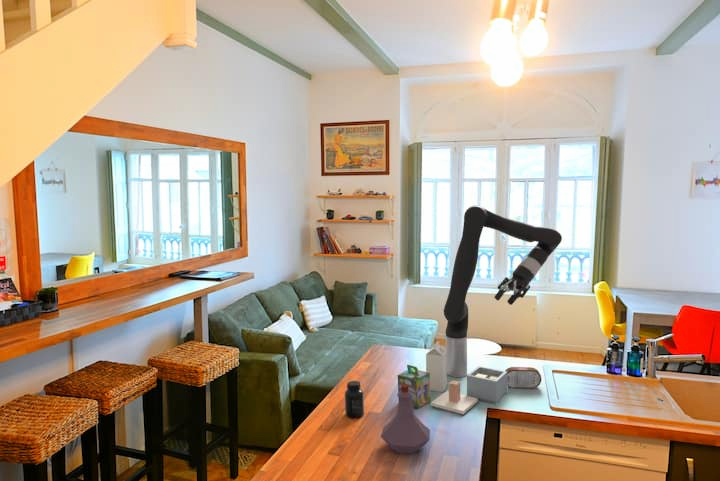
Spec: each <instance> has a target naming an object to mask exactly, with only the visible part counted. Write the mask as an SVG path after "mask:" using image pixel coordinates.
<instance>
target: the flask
mask: <svg viewBox="0 0 720 481" xmlns="http://www.w3.org/2000/svg"><path fill="white" fill-rule="evenodd" d="M408 388H409V385H407V384H403V385H401V391H400V392H398V391H397V398H399V399H398V408H397V411H396V412H397V413H396V415H394V416H393V417H392V418H391V420H389V422H387V424H385V425H384V426H383V427H382V429H381V430H382V432H381V434H380V438H381V439H382V440H383V441H384V442H385V444H387V445H388V447H390V449H392V450H393V451H395V452H396V453H398V454H405V455H411V454H414V453H416V452H418V451H420V450H422V449H423V447H424V446H425V445H426V444H427V443H428V442H429V441H430V438H431V437H430V436H431V430H430V428H429V427H427V426H426V425H425V424H424V423H423V422H422V421H421V420H420V419H419V418H418V417H417V416H416V414H415V412H414V408H412V405H411V398H412V395H413V393H411V392H410V391H408ZM399 400H400V401H399Z"/></svg>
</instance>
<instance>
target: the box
mask: <svg viewBox="0 0 720 481" xmlns="http://www.w3.org/2000/svg"><path fill="white" fill-rule="evenodd" d="M507 395H508V386H507V371H505V370H501V369H496V368H491V367H485V366H480V365H478V366H477V367H475V368H474V369H473V370H472V371H470V372H469V373H467V375H466V396H470V397H474V398H478V401H480V402H485V403H490V404H492V405H496V404H497V403H498V404H499V402H501V400H503V398H505V396H507ZM498 404H497V405H498Z"/></svg>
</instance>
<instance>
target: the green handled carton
mask: <svg viewBox="0 0 720 481" xmlns="http://www.w3.org/2000/svg"><path fill="white" fill-rule="evenodd" d="M406 368H407V370H404V371H402V372H401V373H398V374H397V393H398V392H400V391H401V385H403V384H407V385H409V388H408V391H410V392H411V393H413V395H412V398H411V405H412V408H413V409H414V410H418V409H420V408H422V407H423V406H426V404H428V403H429V402H432V401H431V390H430V373H428V372H426V371H425V370H419V369H418V367H417V366H414V365H411V364H410V365H409V364H407V365H406ZM397 398H398V397H397ZM399 401H400V400H399V398H398V402H399Z"/></svg>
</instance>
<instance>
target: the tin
mask: <svg viewBox="0 0 720 481" xmlns="http://www.w3.org/2000/svg"><path fill="white" fill-rule="evenodd" d="M504 371H507V388H508V387H509V388H511V389H525V390H526V389H528V390H529V389H531V390H533V389H537V387H539V386H540V385H541V383H542V375H541V373H540V371H539V370H538V369H537V368H535V367H527V366H526V367H525V366H524V367H523V366H521V367H520V366H511V367H508V368H506V369H505V370H504Z"/></svg>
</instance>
